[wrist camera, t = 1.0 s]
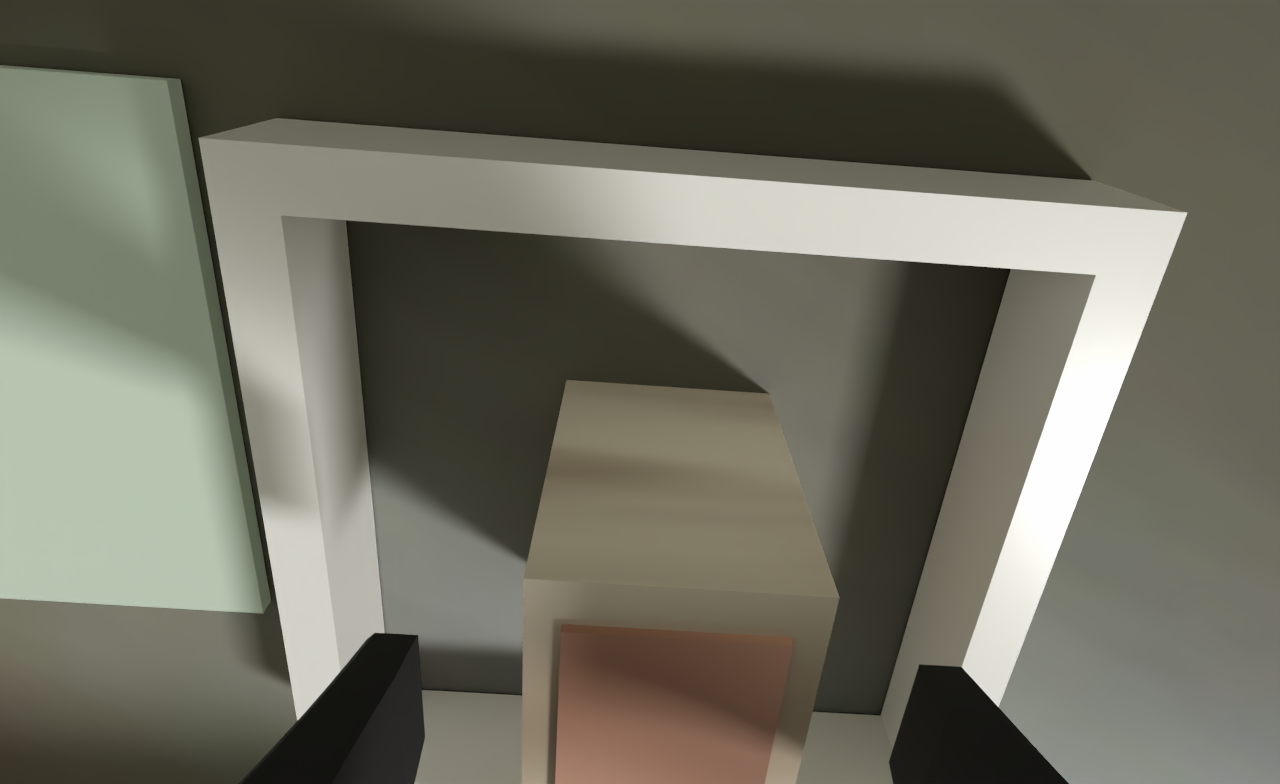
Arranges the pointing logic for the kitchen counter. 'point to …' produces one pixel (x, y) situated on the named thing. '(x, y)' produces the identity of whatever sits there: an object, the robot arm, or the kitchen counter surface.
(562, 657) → the birch block
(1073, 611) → the kitchen counter surface
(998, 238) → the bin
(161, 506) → the pad
